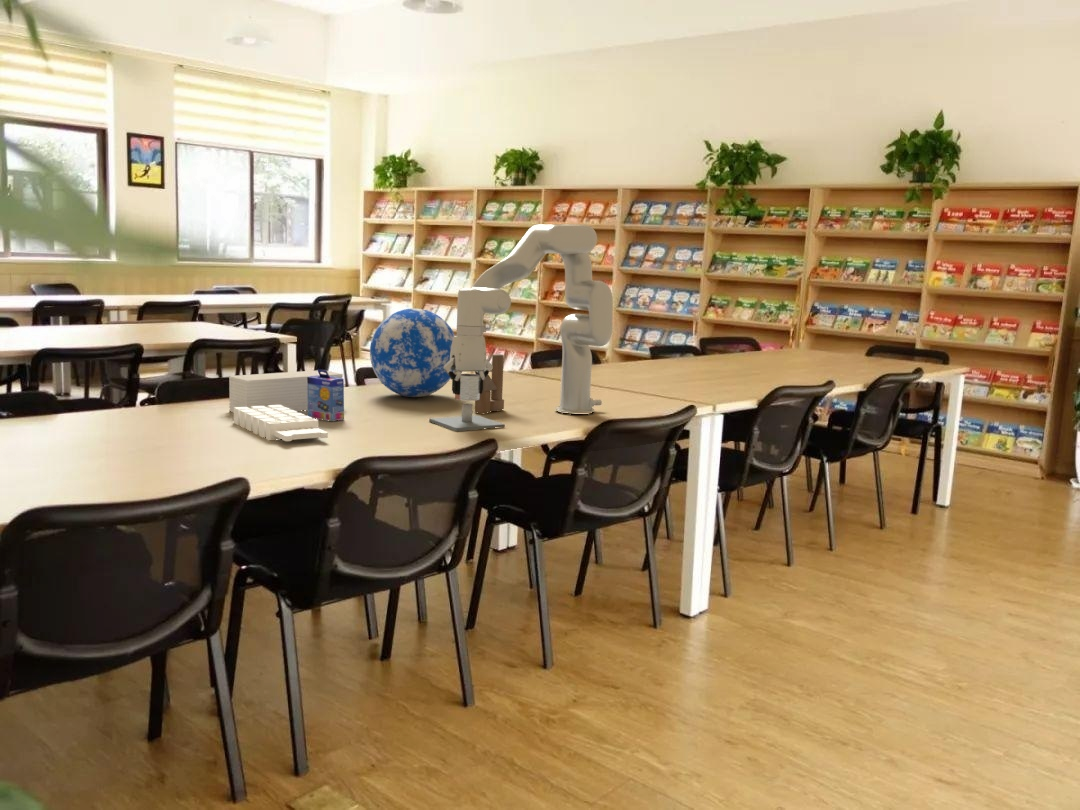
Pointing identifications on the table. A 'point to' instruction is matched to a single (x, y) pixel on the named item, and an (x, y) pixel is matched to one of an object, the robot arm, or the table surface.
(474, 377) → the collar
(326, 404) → the ink cartridge box
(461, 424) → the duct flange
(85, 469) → the table surface
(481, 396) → the wooden block
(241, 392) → the stack of papers
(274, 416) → the organizer
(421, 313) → the decorative globe
